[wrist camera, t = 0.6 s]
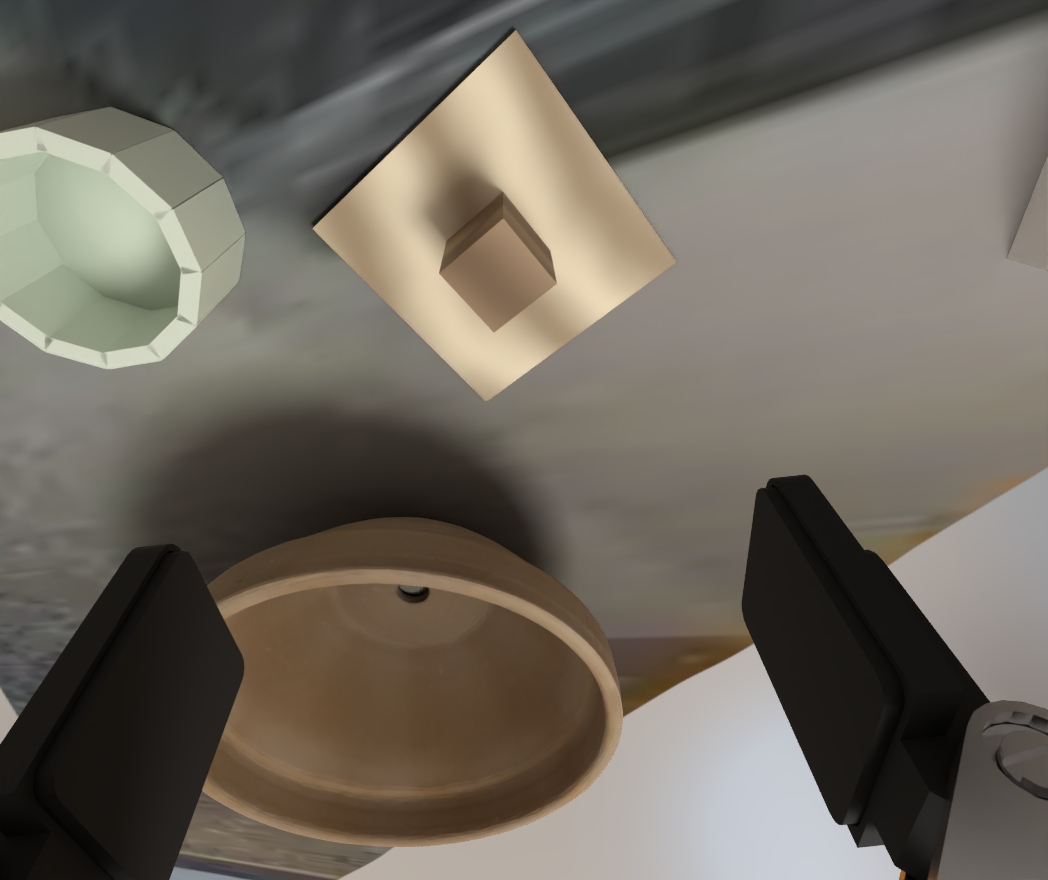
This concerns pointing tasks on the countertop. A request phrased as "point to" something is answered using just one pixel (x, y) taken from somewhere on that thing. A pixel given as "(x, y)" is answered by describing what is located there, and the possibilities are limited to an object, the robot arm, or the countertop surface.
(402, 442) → the countertop surface
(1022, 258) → the grater
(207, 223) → the bowl
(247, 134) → the countertop surface
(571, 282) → the lid
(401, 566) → the flower pot
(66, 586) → the countertop surface
